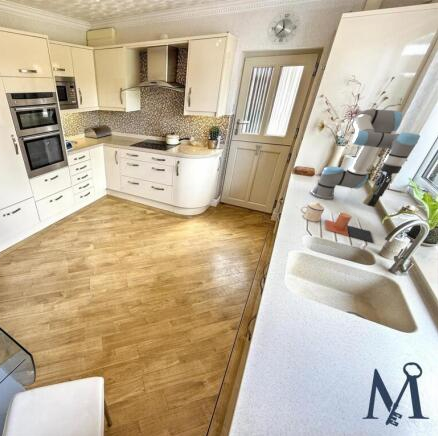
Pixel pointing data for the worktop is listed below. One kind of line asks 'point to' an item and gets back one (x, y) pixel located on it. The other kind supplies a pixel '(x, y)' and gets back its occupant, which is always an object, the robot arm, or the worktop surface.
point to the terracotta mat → (330, 228)
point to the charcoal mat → (360, 234)
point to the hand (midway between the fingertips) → (369, 203)
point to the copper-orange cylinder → (342, 221)
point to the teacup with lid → (313, 211)
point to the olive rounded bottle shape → (371, 196)
